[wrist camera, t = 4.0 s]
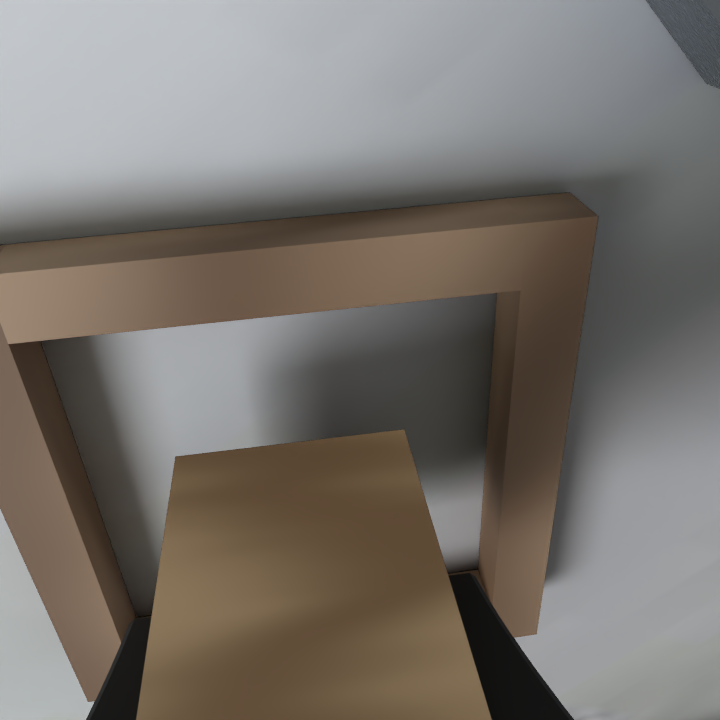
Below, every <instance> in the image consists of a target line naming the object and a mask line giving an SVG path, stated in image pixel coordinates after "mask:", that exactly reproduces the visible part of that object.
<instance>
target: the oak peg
mask: <svg viewBox="0 0 720 720" xmlns="http://www.w3.org/2000/svg"><path fill="white" fill-rule="evenodd" d="M136 720H492V719H491V716H490V712H489V709H488V706H487V702H486V699H485V696H484V692H483V689H482V686H481V682H480V679H479V676H478V672H477V669H476V666H475V663H474V659H473V656H472V653H471V649H470V646H469V643H468V639H467V636H466V633H465V629H464V626H463V623H462V619H461V616H460V613H459V609H458V606H457V603H456V599H455V596H454V593H453V589H452V586H451V583H450V580H449V576H448V573H447V570H446V566H445V563H444V560H443V556H442V553H441V550H440V546H439V543H438V540H437V536H436V533H435V530H434V526H433V523H432V520H431V516H430V513H429V510H428V506H427V503H426V500H425V497H424V493H423V490H422V487H421V483H420V480H419V477H418V473H417V470H416V467H415V463H414V460H413V457H412V453H411V450H410V447H409V443H408V440H407V437H406V433H405V430H404V429H403V430H394V431H386V432H378V433H369V434H361V435H352V436H344V437H336V438H327V439H319V440H311V441H302V442H294V443H285V444H277V445H269V446H260V447H252V448H243V449H235V450H227V451H218V452H210V453H202V454H193V455H185V456H176V457H175V463H174V470H173V476H172V483H171V490H170V497H169V503H168V510H167V517H166V523H165V530H164V537H163V543H162V550H161V557H160V564H159V570H158V577H157V584H156V590H155V597H154V604H153V610H152V617H151V624H150V630H149V637H148V644H147V651H146V657H145V664H144V671H143V677H142V684H141V691H140V697H139V704H138V711H137V717H136Z"/></svg>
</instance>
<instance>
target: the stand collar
mask: <svg viewBox="0 0 720 720" xmlns="http://www.w3.org/2000/svg"><path fill="white" fill-rule="evenodd" d="M597 223H598V216H597V215H596V214H595V213H594V212H593V211H591V210H590V209H589V208H588V207H586V206H585V205H584V204H583V203H582V202H580V201H579V200H578V199H577V198H576V197H574V196H573V195H572V194H571V193H570V192H569V193H558V194H547V195H537V196H526V197H515V198H504V199H493V200H482V201H472V202H461V203H450V204H439V205H428V206H418V207H407V208H396V209H385V210H374V211H364V212H353V213H342V214H331V215H320V216H309V217H299V218H288V219H277V220H266V221H255V222H245V223H234V224H223V225H212V226H201V227H191V228H180V229H169V230H158V231H147V232H136V233H126V234H115V235H104V236H93V237H82V238H72V239H61V240H50V241H39V242H28V243H18V244H7V245H0V509H1V511H2V513H3V516H4V518H5V520H6V522H7V524H8V527H9V529H10V531H11V533H12V535H13V538H14V540H15V542H16V544H17V546H18V549H19V551H20V553H21V555H22V557H23V560H24V562H25V564H26V566H27V568H28V571H29V573H30V575H31V577H32V579H33V582H34V584H35V586H36V588H37V590H38V593H39V595H40V597H41V599H42V601H43V604H44V606H45V608H46V610H47V612H48V615H49V617H50V619H51V621H52V623H53V626H54V628H55V630H56V632H57V634H58V637H59V639H60V641H61V643H62V645H63V648H64V650H65V652H66V654H67V656H68V659H69V661H70V663H71V665H72V667H73V670H74V672H75V674H76V676H77V679H78V681H79V683H80V685H81V687H82V690H83V692H84V694H85V696H86V698H87V701H88V702H91V701H95V700H96V698H97V696H98V694H99V692H100V690H101V687H102V685H103V683H104V681H105V679H106V677H107V674H108V672H109V670H110V668H111V665H112V663H113V661H114V659H115V656H116V654H117V652H118V649H119V647H120V645H121V642H122V640H123V637H124V635H125V632H126V630H127V628H128V625H129V624H130V623H131V622H132V621H133V620H134V619H138V618H136V615H135V613H134V610H133V607H132V604H131V601H130V598H129V595H128V592H127V590H126V587H125V584H124V581H123V578H122V575H121V572H120V569H119V567H118V564H117V561H116V558H115V555H114V552H113V549H112V546H111V544H110V541H109V538H108V535H107V532H106V529H105V526H104V523H103V521H102V518H101V515H100V512H99V509H98V506H97V503H96V500H95V498H94V495H93V492H92V489H91V486H90V483H89V480H88V477H87V475H86V472H85V469H84V466H83V463H82V460H81V457H80V454H79V452H78V449H77V446H76V443H75V440H74V437H73V434H72V431H71V429H70V426H69V423H68V420H67V417H66V414H65V411H64V408H63V406H62V403H61V400H60V397H59V394H58V391H57V388H56V385H55V383H54V380H53V377H52V374H51V371H50V368H49V365H48V362H47V360H46V357H45V354H44V351H43V348H42V345H41V342H40V341H43V340H53V339H62V338H72V337H81V336H91V335H100V334H110V333H119V332H129V331H138V330H148V329H157V328H167V327H176V326H186V325H196V324H205V323H215V322H224V321H234V320H243V319H253V318H262V317H272V316H281V315H291V314H300V313H310V312H319V311H329V310H338V309H348V308H358V307H367V306H377V305H386V304H396V303H405V302H415V301H424V300H434V299H443V298H453V297H462V296H472V295H481V294H491V293H497V299H496V314H495V329H494V343H493V358H492V372H491V387H490V401H489V416H488V430H487V445H486V459H485V474H484V488H483V503H482V518H481V532H480V547H479V561H478V570H473V571H466V572H459V573H451V574H448V576H449V575H456V574H463V573H471V574H473V575H474V576H476V578H477V579H478V581H479V583H480V585H481V587H482V588H483V590H484V592H485V593H486V595H487V597H488V598H489V600H490V602H491V603H492V605H493V607H494V608H495V610H496V611H497V613H498V615H499V616H500V618H501V619H502V621H503V622H504V624H505V625H506V627H507V628H508V630H509V631H510V633H511V634H512V636H513V637H521V636H528V635H534V634H537V628H538V621H539V614H540V608H541V601H542V594H543V587H544V581H545V574H546V567H547V560H548V554H549V547H550V540H551V533H552V527H553V520H554V513H555V506H556V500H557V493H558V486H559V479H560V473H561V466H562V459H563V452H564V446H565V439H566V432H567V425H568V419H569V412H570V405H571V398H572V392H573V385H574V378H575V371H576V364H577V358H578V351H579V344H580V337H581V331H582V324H583V317H584V310H585V304H586V297H587V290H588V283H589V277H590V270H591V263H592V256H593V250H594V243H595V236H596V229H597ZM147 617H152V616H147ZM140 618H146V617H140Z"/></svg>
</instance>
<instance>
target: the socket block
mask: <svg viewBox="0 0 720 720" xmlns="http://www.w3.org/2000/svg"><path fill="white" fill-rule="evenodd" d="M646 1H647V3H648V4H649V5H650V7H651V8H652V9H653V11H654V12H655V14H656V15H657V16H658V18H659V19H660V20H661V22H662V23H663V24H664V26H665V27H666V29H667V30H668V31H669V33H670V34H671V35H672V37H673V38H674V40H675V41H676V42H677V44H678V45H679V46H680V48H681V49H682V51H683V52H684V53H685V55H686V56H687V57H688V59H689V60H690V61H691V63H692V64H693V66H694V67H695V68H696V70H697V71H698V72H699V74H700V75H701V77H702V78H703V79H704V81H705V82H706V83H707V84H708V85H711V86H714V87H717V88H720V0H646Z"/></svg>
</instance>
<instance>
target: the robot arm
mask: <svg viewBox="0 0 720 720" xmlns="http://www.w3.org/2000/svg"><path fill="white" fill-rule="evenodd" d="M449 580H450V583H451V586H452V589H453V593H454V596H455V599H456V603H457V606H458V609H459V613H460V616H461V619H462V623H463V626H464V629H465V633H466V636H467V639H468V643H469V646H470V649H471V653H472V656H473V659H474V663H475V666H476V669H477V672H478V676H479V679H480V682H481V686H482V689H483V692H484V696H485V699H486V702H487V706H488V709H489V712H490V716H491V719H492V720H574V719H573V718H572V716H571V715H570V714H569V713H568V711H567V710H566V709H565V707H564V706H563V705H562V704H561V702H560V701H559V700H558V698H557V697H556V696H555V694H554V693H553V692H552V690H551V689H550V688H549V686H548V685H547V684H546V682H545V681H544V680H543V678H542V677H541V676H540V674H539V673H538V672H537V670H536V669H535V667H534V666H533V665H532V663H531V662H530V660H529V659H528V658H527V656H526V655H525V653H524V652H523V651H522V649H521V648H520V646H519V645H518V643H517V642H516V640H515V639H514V637H513V636H512V634H511V633H510V631H509V630H508V628H507V627H506V625H505V624H504V622H503V621H502V619H501V618H500V616H499V615H498V613H497V611H496V610H495V608H494V607H493V605H492V603H491V602H490V600H489V598H488V597H487V595H486V593H485V592H484V590H483V588H482V587H481V585H480V583H479V581H478V579H477V578H476V576H474V575H473V574H471V573H463V574H456V575H449ZM150 624H151V617H146V618H138V619H134V620H133V621H132V622H131V623H130V624H129V625H128V628H127V630H126V632H125V635H124V637H123V640H122V642H121V645H120V647H119V649H118V652H117V654H116V656H115V659H114V661H113V663H112V665H111V668H110V670H109V672H108V674H107V677H106V679H105V681H104V683H103V685H102V687H101V690H100V692H99V694H98V696H97V698H96V700H95V702H94V704H93V706H92V709H91V711H90V713H89V715H88V717H87V719H86V720H136V717H137V711H138V704H139V697H140V691H141V684H142V677H143V671H144V664H145V657H146V651H147V644H148V637H149V630H150Z"/></svg>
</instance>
